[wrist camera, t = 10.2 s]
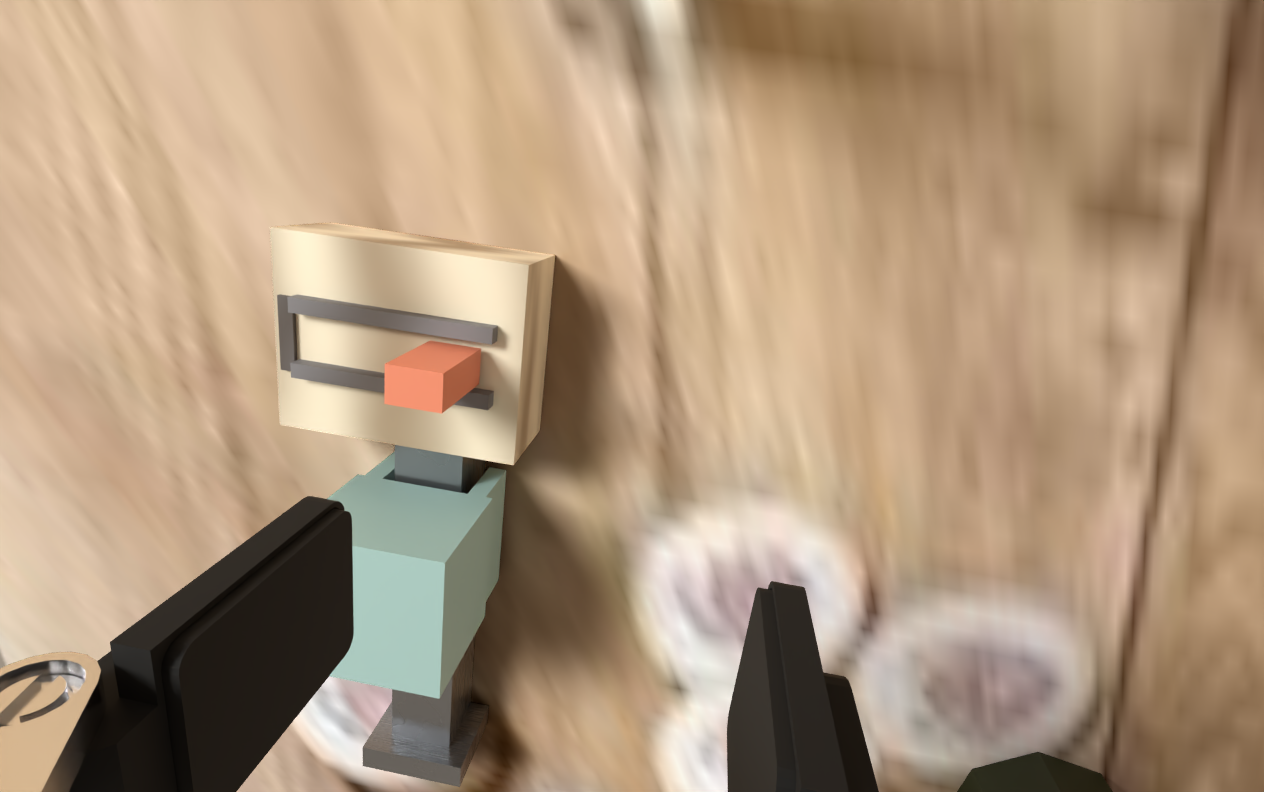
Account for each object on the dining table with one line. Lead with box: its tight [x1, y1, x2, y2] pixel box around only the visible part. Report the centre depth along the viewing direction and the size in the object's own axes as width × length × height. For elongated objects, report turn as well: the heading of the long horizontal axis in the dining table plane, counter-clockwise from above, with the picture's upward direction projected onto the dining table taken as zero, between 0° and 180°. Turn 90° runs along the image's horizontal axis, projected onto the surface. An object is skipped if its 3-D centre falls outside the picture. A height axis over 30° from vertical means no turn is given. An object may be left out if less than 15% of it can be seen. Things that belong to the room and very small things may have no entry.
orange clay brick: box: [384, 340, 481, 414], centre depth 23 cm, size 2×1×4 cm
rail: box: [363, 445, 489, 787], centre depth 31 cm, size 5×17×4 cm, turn 172°
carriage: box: [327, 452, 506, 699], centre depth 27 cm, size 6×6×8 cm
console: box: [270, 222, 555, 465], centre depth 26 cm, size 10×8×5 cm
